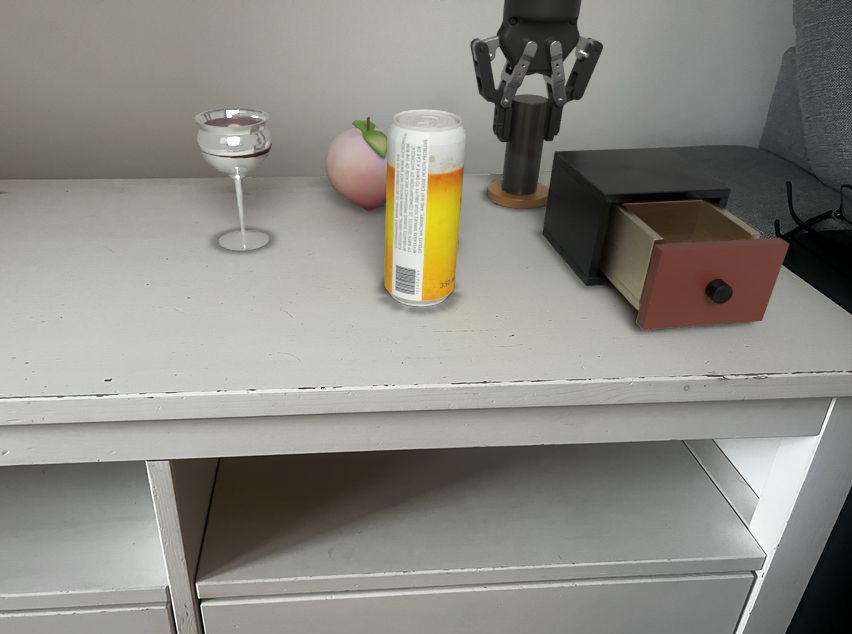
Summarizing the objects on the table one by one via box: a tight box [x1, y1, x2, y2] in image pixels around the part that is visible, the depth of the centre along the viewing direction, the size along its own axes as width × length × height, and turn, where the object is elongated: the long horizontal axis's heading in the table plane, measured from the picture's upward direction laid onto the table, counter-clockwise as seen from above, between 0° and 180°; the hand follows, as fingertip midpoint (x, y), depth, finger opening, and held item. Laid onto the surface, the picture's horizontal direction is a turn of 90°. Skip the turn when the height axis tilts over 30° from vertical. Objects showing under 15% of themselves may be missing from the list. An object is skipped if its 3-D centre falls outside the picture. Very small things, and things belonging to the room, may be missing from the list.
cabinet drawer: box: [598, 198, 790, 331], centre depth 59 cm, size 12×10×7 cm
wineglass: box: [194, 106, 273, 252], centre depth 68 cm, size 7×7×12 cm
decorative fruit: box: [324, 116, 387, 211], centre depth 76 cm, size 9×8×10 cm
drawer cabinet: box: [542, 147, 732, 287], centre depth 68 cm, size 12×12×9 cm
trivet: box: [486, 178, 549, 210], centre depth 82 cm, size 7×7×1 cm
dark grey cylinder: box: [501, 93, 549, 195], centre depth 79 cm, size 4×4×10 cm
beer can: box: [383, 108, 467, 307], centre depth 59 cm, size 6×6×15 cm
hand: (525, 139), depth 79 cm, fingers open, 4 cm apart
